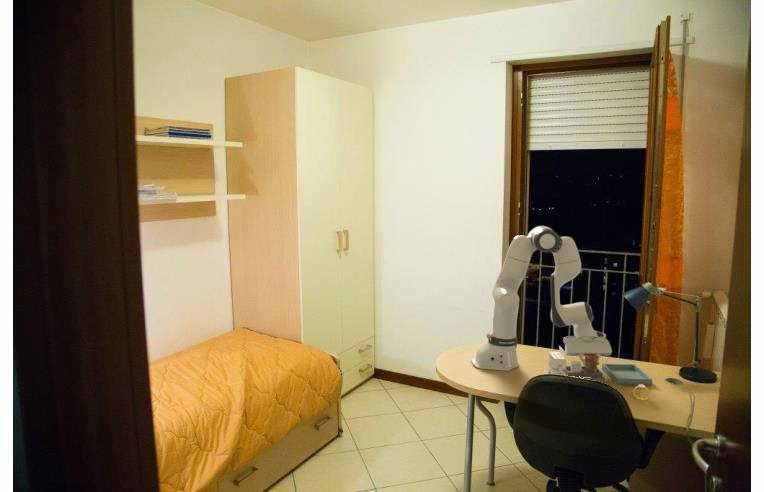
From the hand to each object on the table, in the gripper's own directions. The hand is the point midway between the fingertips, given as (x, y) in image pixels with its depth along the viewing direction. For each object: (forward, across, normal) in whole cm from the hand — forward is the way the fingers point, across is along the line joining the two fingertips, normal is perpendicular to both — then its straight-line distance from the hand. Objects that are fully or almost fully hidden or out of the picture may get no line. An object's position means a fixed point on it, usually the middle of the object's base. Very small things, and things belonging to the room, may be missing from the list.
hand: (591, 364), depth 215 cm
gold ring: (+20, +12, -12) cm, 26 cm away
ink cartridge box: (+8, -17, 0) cm, 19 cm away
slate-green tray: (+5, +15, +3) cm, 16 cm away
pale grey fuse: (+4, -7, +4) cm, 9 cm away
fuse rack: (+3, -4, +4) cm, 6 cm away
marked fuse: (+3, 0, +4) cm, 5 cm away
